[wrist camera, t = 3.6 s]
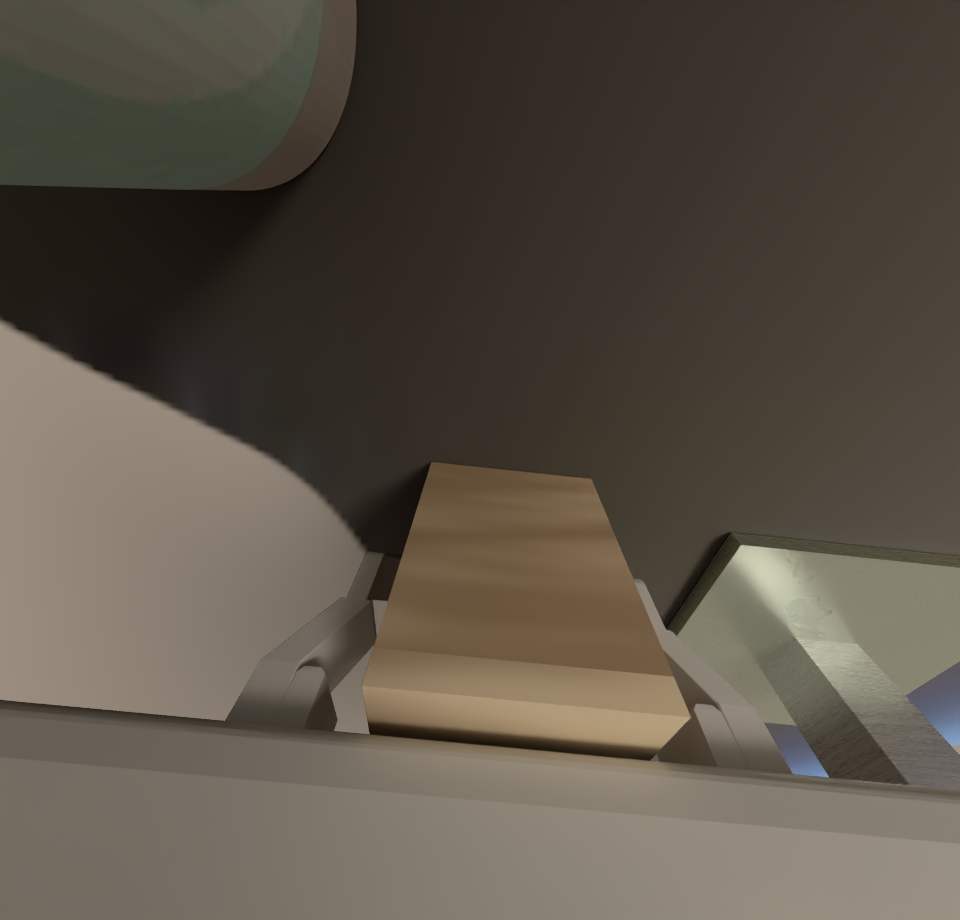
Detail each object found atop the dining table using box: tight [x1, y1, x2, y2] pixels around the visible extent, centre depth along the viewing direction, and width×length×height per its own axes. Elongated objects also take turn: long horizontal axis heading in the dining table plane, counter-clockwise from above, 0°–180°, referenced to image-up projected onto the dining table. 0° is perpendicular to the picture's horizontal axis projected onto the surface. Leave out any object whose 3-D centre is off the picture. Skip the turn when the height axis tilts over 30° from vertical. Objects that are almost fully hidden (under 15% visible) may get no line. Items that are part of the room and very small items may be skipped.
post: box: [666, 532, 960, 790], centre depth 12 cm, size 12×12×7 cm
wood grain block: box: [362, 462, 691, 761], centre depth 9 cm, size 5×5×7 cm
